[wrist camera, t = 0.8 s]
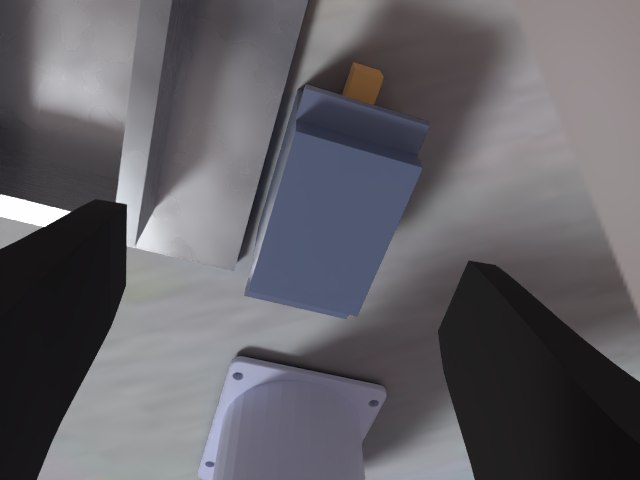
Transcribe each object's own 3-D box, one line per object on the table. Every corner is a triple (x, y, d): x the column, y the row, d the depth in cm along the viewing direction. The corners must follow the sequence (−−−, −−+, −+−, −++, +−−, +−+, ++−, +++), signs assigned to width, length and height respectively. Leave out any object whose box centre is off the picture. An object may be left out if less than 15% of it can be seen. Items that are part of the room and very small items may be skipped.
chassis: (235, 263, 23) (225, 315, 20) (-37, 198, 21) (-94, 244, 18) (308, -3, 17) (308, 14, 14) (-51, -123, 15) (-137, -133, 12)
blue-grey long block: (341, 267, 23) (348, 336, 19) (252, 245, 22) (241, 313, 19) (417, 78, 19) (444, 118, 15) (310, 43, 18) (311, 77, 14)
